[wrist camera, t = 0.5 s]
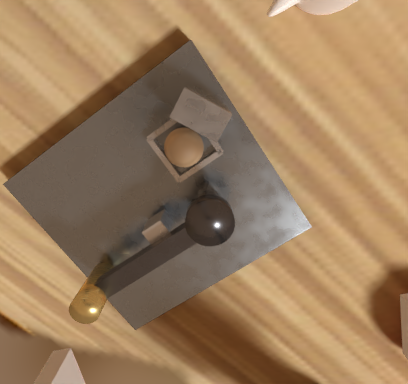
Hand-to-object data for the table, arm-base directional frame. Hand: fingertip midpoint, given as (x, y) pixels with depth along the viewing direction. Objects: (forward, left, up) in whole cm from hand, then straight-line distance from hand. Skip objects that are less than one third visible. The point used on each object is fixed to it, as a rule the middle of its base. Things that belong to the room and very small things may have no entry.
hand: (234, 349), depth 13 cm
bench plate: (-2, -7, -26) cm, 27 cm away
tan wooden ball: (-6, -1, -24) cm, 25 cm away
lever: (+1, -9, -23) cm, 25 cm away
